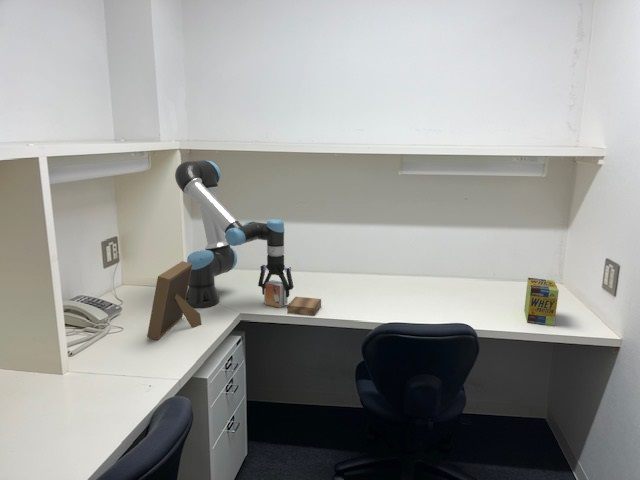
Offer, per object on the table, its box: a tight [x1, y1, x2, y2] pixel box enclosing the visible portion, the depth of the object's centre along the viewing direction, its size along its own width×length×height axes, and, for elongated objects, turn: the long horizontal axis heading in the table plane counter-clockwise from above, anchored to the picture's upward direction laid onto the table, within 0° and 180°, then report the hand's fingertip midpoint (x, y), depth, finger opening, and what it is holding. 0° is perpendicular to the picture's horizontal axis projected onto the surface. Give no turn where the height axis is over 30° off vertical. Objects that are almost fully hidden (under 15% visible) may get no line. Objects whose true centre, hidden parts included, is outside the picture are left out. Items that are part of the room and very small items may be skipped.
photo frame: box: [146, 260, 202, 341], centre depth 176 cm, size 15×22×25 cm
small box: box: [264, 279, 285, 309], centre depth 205 cm, size 8×6×10 cm
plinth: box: [286, 296, 322, 317], centre depth 200 cm, size 12×12×4 cm
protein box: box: [523, 277, 559, 327], centre depth 192 cm, size 10×15×16 cm
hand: (275, 302), depth 206 cm, fingers closed on small box, 9 cm apart
